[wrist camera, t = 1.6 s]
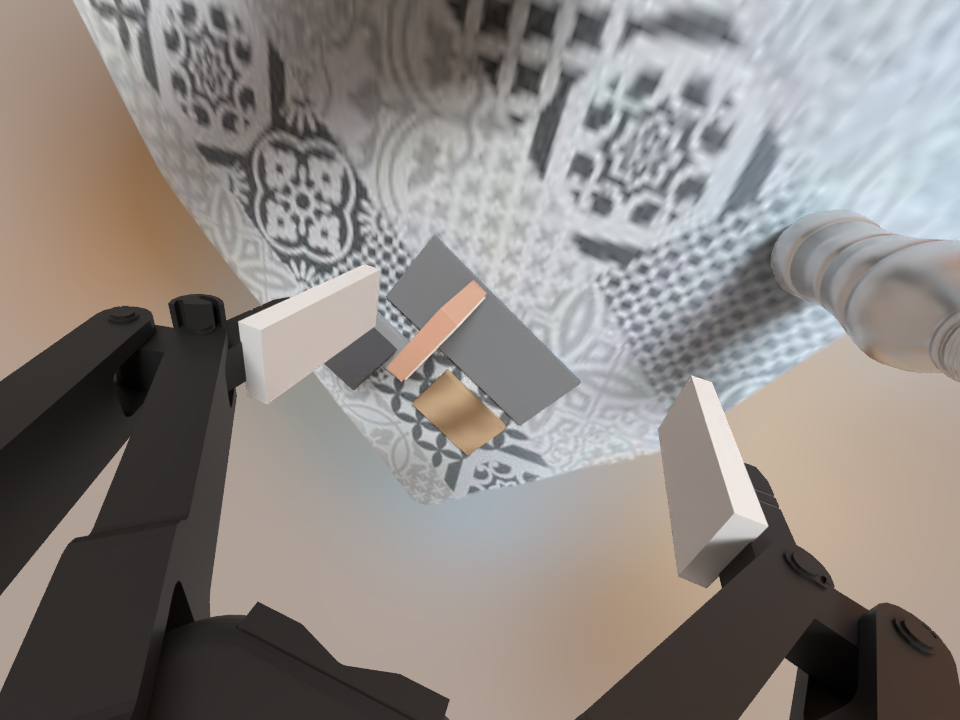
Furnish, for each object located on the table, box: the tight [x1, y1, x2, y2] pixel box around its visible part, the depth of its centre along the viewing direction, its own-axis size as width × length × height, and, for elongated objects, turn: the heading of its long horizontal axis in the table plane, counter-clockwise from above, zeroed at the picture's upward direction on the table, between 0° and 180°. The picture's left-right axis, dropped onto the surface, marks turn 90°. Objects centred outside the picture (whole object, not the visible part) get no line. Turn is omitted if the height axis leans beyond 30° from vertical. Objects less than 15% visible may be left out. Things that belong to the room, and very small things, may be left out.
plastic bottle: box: [770, 210, 960, 382], centre depth 23 cm, size 6×7×20 cm
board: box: [412, 369, 505, 456], centre depth 50 cm, size 10×7×1 cm
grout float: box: [324, 311, 409, 390], centre depth 45 cm, size 9×5×8 cm, turn 48°
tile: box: [386, 280, 487, 382], centre depth 40 cm, size 2×9×9 cm, turn 138°
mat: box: [386, 236, 581, 425], centre depth 44 cm, size 22×10×1 cm, turn 48°
